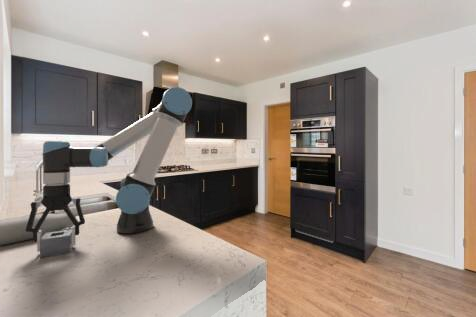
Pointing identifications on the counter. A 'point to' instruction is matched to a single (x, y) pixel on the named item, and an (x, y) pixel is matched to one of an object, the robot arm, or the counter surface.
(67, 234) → the collar
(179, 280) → the counter surface
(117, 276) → the counter surface
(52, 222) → the grey cylindrical pipe
